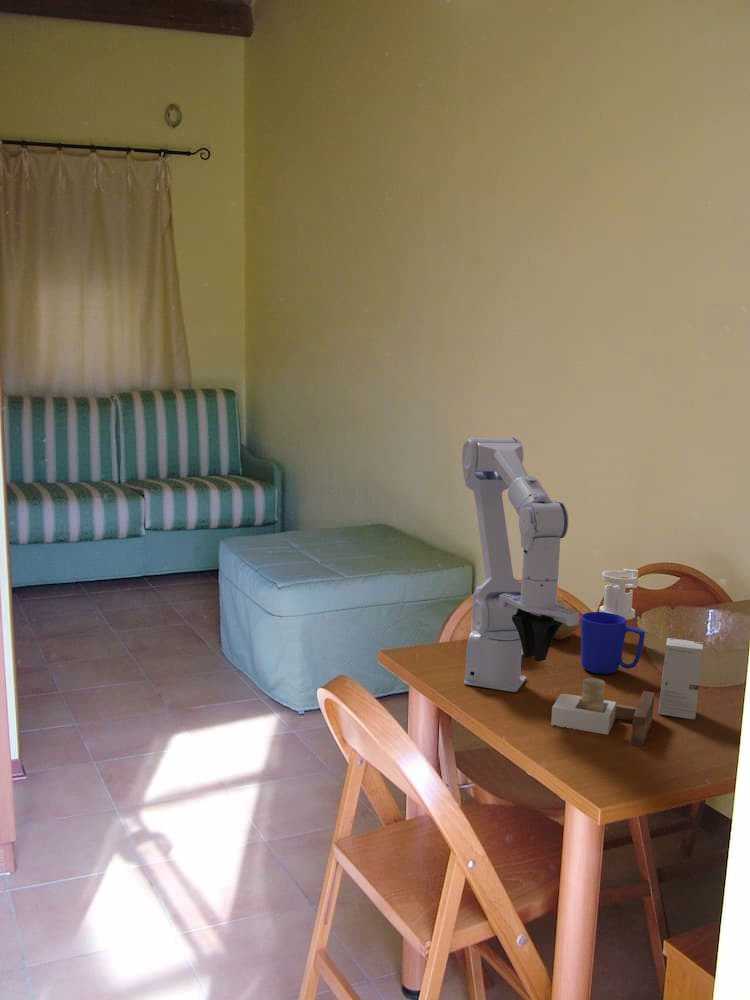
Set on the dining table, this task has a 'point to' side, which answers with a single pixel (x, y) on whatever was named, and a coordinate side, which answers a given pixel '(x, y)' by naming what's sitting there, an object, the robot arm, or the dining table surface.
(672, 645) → the skincare box
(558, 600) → the potato
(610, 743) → the dining table surface
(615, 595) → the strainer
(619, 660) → the mug
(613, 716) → the white pocketed block
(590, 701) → the dowel
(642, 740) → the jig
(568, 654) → the dining table surface
